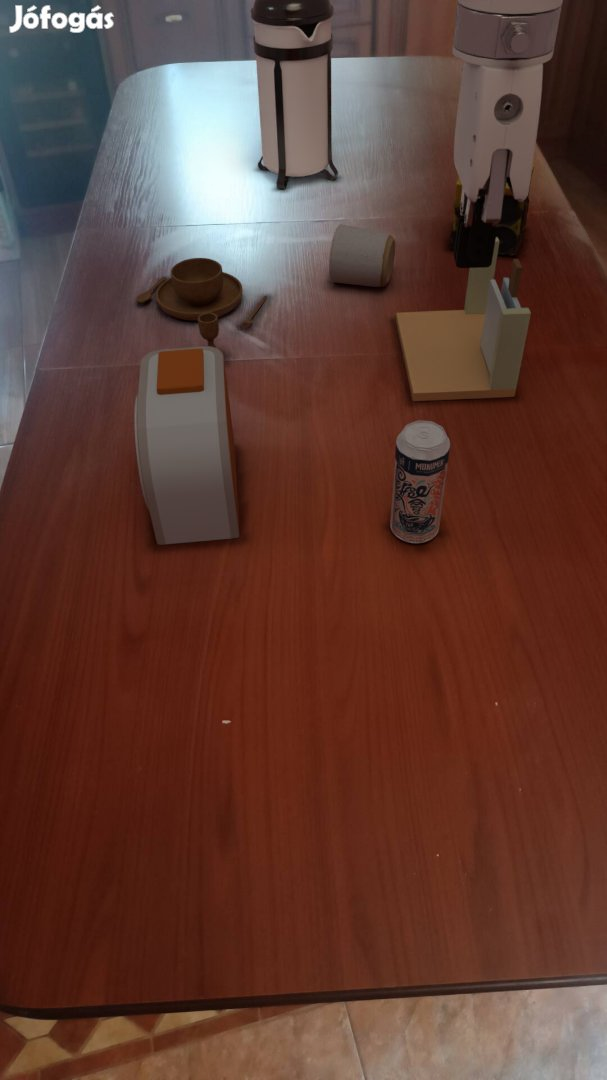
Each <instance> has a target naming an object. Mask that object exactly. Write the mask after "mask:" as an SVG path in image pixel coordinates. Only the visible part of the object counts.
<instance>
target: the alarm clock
mask: <svg viewBox="0 0 607 1080" xmlns="http://www.w3.org/2000/svg"><path fill="white" fill-rule="evenodd" d="M138 372H139V373H138V384H137V385H138V387H137V395H136V397H135V402H134V416H133V417H134V420H133V421H134V439H135V440H134V441H135V449H136V450H135V452H136V461H137V469H138V475H139V482H140V487H141V492H142V495H143V498H144V502H145V505H146V507H147V510H148V511H149V512H148V513H149V516H150V521H151V525H152V529H153V533H154V538H155V541H156V544H157V545H158V546H163V545H174V544H185V543H196V542H206V541H207V542H208V541H209V542H210V541H218V540H219V541H221V540H231V539H238V538H240V537H241V536H240V535H241V529H240V528H241V527H240V512H239V511H240V510H239V509H240V508H239V494H238V492H239V491H238V475H237V458H236V447H235V439H234V431H233V422H232V421H233V420H232V413H231V404H230V396H229V387H228V381H227V371H226V362H225V356H224V354H223V352H222V351H221V350H220V349H218V348H217V347H216V348H214V347H210V346H208V345H200V346H199V345H198V346H188V347H175V348H162V349H156V350H152V351H150V352H148V353H146V354H145V355H144V356H142V357H141V360H140V364H139V371H138Z"/></svg>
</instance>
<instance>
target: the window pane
mask: <svg viewBox="0 0 607 1080" xmlns="http://www.w3.org/2000/svg"><path fill="white" fill-rule="evenodd" d="M522 271H523V266H522V264H521V262H520V259H519V258H512V263H511V269H510V275H509V277H503V278H502V284H501V290H500V293H501V296H502V298H503V300H504V303H505V305H506V308H507V309H509V308H522V306H521V304H520V302H519V300H518V294H519V288H520V283H521V276H522Z"/></svg>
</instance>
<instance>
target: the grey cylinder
mask: <svg viewBox="0 0 607 1080" xmlns="http://www.w3.org/2000/svg"><path fill="white" fill-rule="evenodd" d="M395 255H396V239H395V237H394V236H393V235H392V234H389V233H386V232H385V231H384V232H383V231H380V230H373V229H367V228H363V227H357V226H353V225H347V224H338V225H337V227H336V229H335V231H334V233H333V236H332V240H331V245H330V251H329V259H328V261H329V263H328V275H329V280H330V282H332V283H336V284H337V283H338V284H346V285H352V286H353V285H354V286H356V285H357V286H363V287H371V288H382V287H385V286H386V285H388V283H389V281H390V278H391V275H392V271H393V267H394V262H395Z"/></svg>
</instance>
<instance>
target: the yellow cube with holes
mask: <svg viewBox="0 0 607 1080" xmlns="http://www.w3.org/2000/svg"><path fill="white" fill-rule="evenodd" d="M535 166H536V163H535V162H534V161H533V166H532V173H531V178H532V177H533V173H534V169H535ZM531 183H532V179H531V180H530V184H531ZM530 188H531V186H530V187H529V191H530ZM454 195H455V196H454V202H453V208H454V214H453V221H452V227H451V232H450V244H449V249H451V250H455V242H456V234H457V226H458V218H459V217H465V216H461V214H460V206H461V195H462V184H461V182H460V179H459V177H458V178H457V180H456V182H455V194H454ZM529 195H530V192H529V193H528V196H527V198H526V199H525V200H524V201H522V202H518V201H517V199H514V197H513V195H512V193H511V190H510V188H509V186H508V184H507V183H506V188H505V192H504V197H503V203H502V213H501V220H500V222H498V228H497V234H496V237H498V239H499V248H498V254H497V255H501V256H506V257H507V256H508V257H515V256H517V255H518V252H519V250H520V248H521V244H522V241H523V238H524V236H523V232H524V231H525V230H526V226H527V219H528V213H529V205H530V198H529Z"/></svg>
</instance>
